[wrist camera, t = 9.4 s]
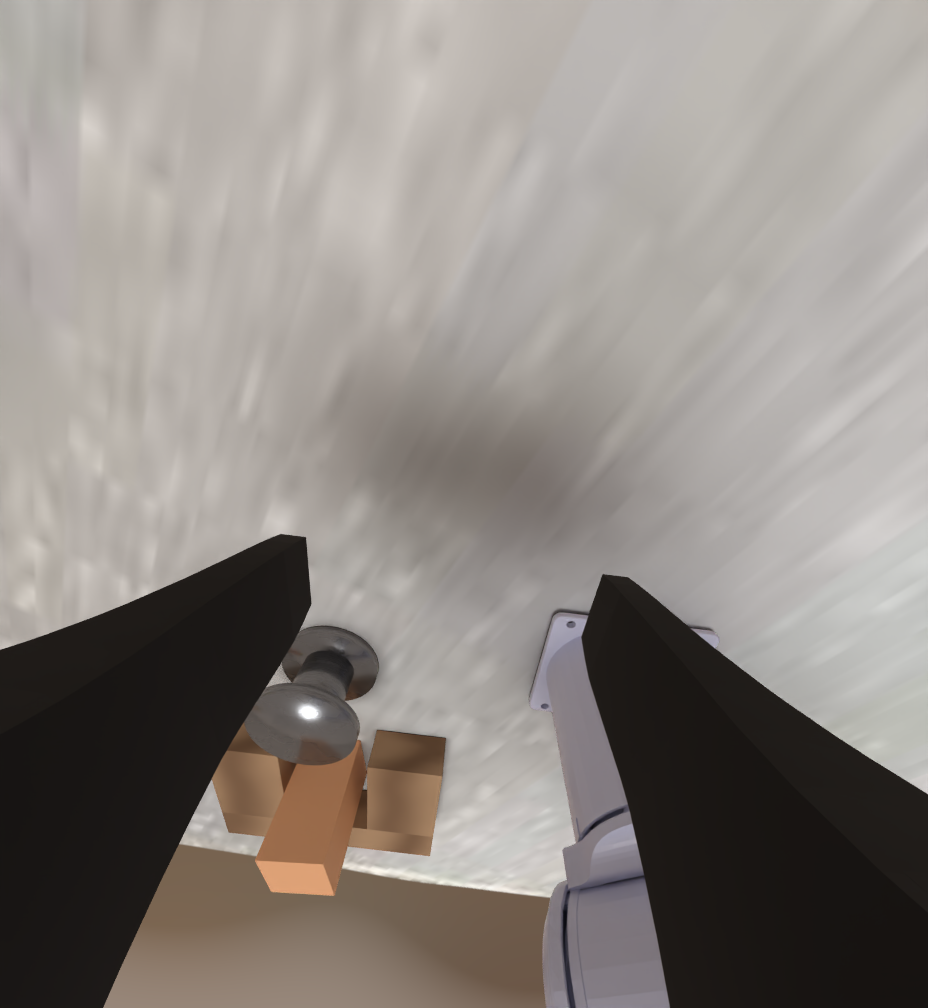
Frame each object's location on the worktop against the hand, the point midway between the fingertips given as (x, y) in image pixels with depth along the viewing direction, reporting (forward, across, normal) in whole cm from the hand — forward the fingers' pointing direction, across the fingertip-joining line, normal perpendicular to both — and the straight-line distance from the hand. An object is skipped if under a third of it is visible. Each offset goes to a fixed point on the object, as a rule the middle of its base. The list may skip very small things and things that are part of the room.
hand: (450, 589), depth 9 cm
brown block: (+9, +7, +25) cm, 27 cm away
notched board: (+9, +7, +26) cm, 29 cm away
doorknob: (+9, +7, +14) cm, 19 cm away
